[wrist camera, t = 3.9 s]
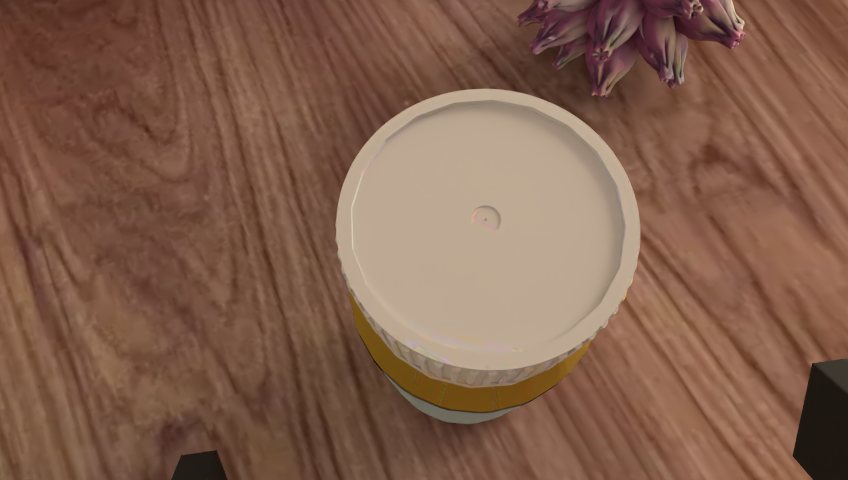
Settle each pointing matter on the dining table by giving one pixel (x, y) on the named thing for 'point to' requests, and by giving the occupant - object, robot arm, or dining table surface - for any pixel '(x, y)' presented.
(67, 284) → the dining table surface
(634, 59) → the flower
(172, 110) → the dining table surface
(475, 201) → the bottle
